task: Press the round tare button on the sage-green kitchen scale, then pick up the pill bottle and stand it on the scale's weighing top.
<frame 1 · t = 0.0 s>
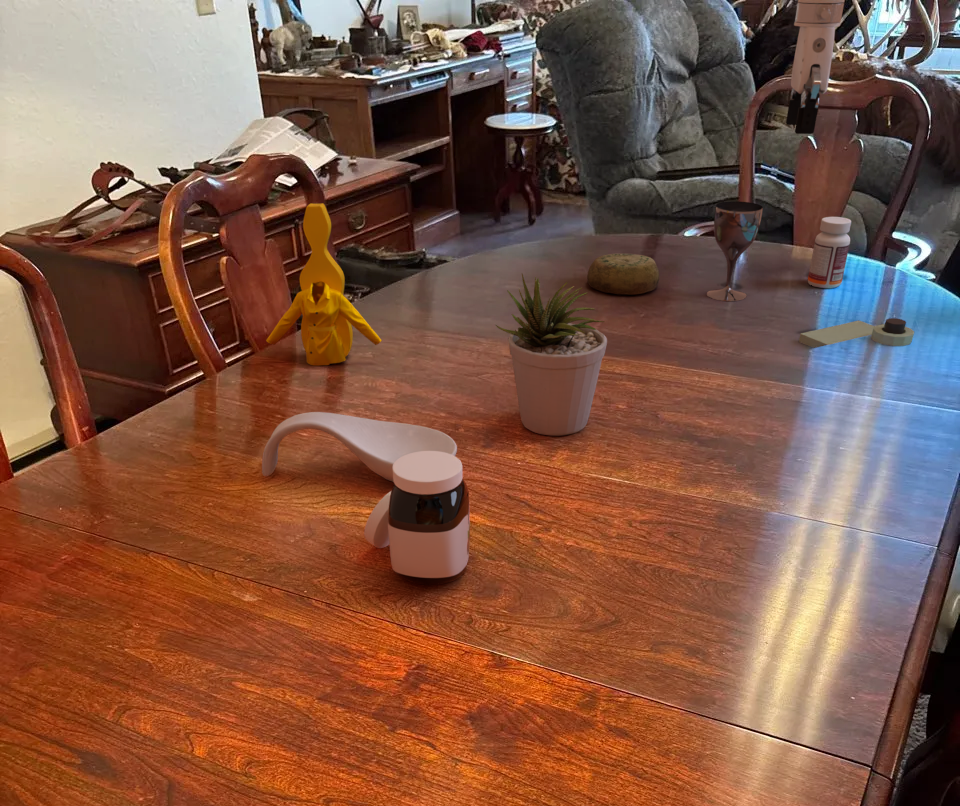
hand: (799, 128, 172), 24 cm above the table, tool pointing down, fingers open, 9 cm apart
tare button: (894, 326, 148), point 4 cm above the table, slide at 0.1 cm
pill bottle: (823, 285, 178), on the table
figure statuette: (328, 359, 149), on the table
cheese wheel: (622, 287, 178), on the table
wine glass: (726, 296, 173), on the table
spoon rest: (361, 474, 117), on the table
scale: (856, 346, 151), on the table
potted plant: (550, 424, 129), on the table
spread jar: (417, 562, 101), on the table
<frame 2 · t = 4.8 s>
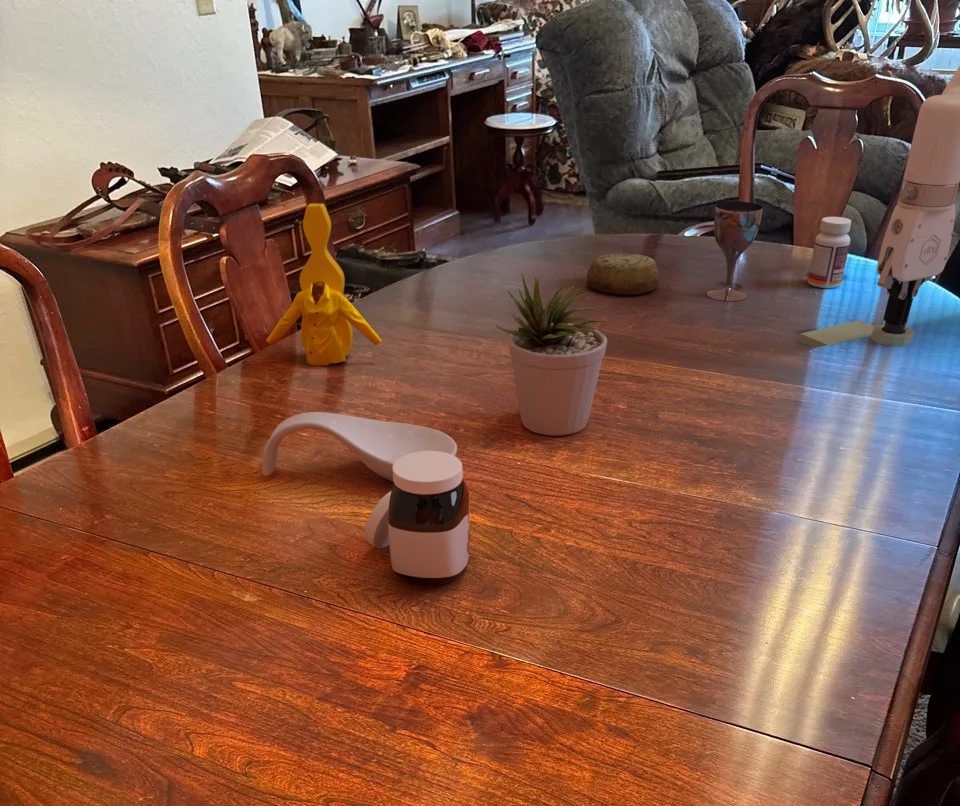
hand: (894, 322, 148), 4 cm above the table, tool pointing down, fingers closed
tare button: (894, 327, 148), point 3 cm above the table, slide at 0.0 cm, touching gripper
everything else where it was.
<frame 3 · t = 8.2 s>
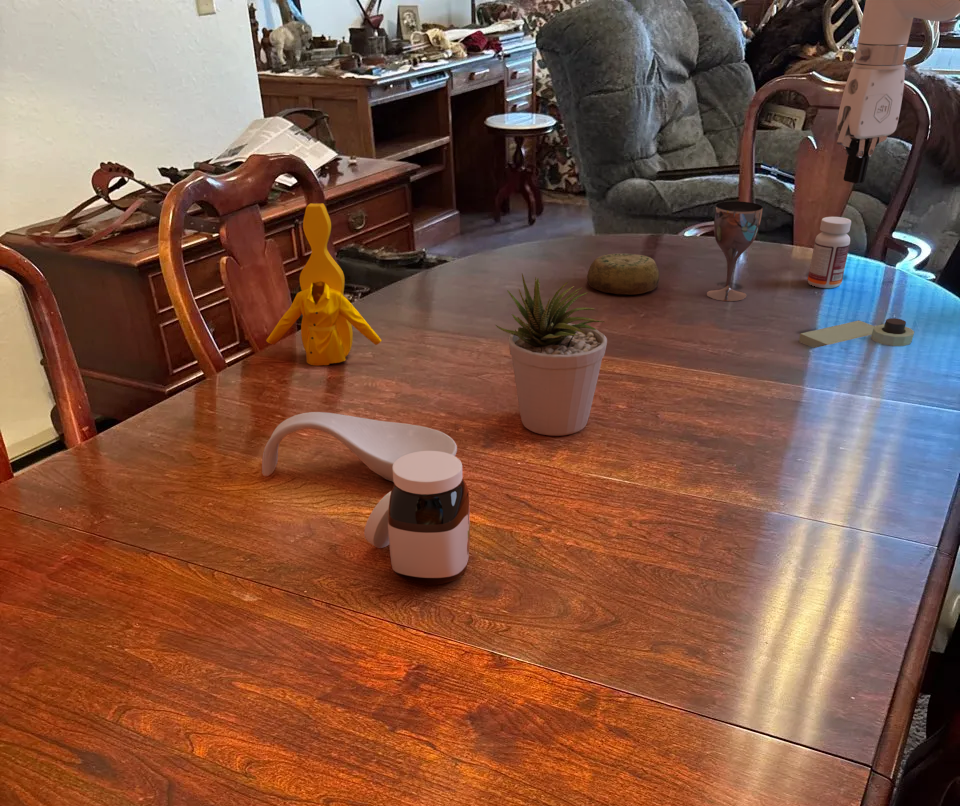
hand: (853, 181, 163), 19 cm above the table, tool pointing down, fingers closed
tare button: (894, 326, 148), point 3 cm above the table, slide at 0.1 cm
everything else where it was.
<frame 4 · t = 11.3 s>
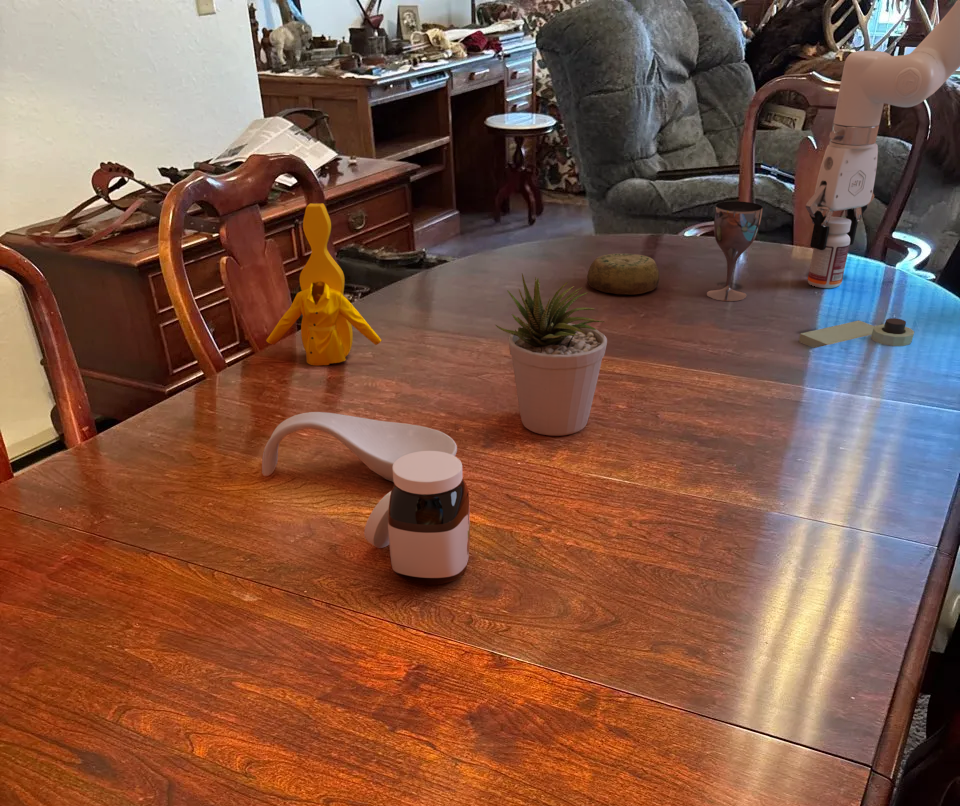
hand: (831, 244, 174), 7 cm above the table, tool pointing down, fingers closed on pill bottle, 6 cm apart
pill bottle: (823, 285, 178), on the table, touching gripper
everything else where it was.
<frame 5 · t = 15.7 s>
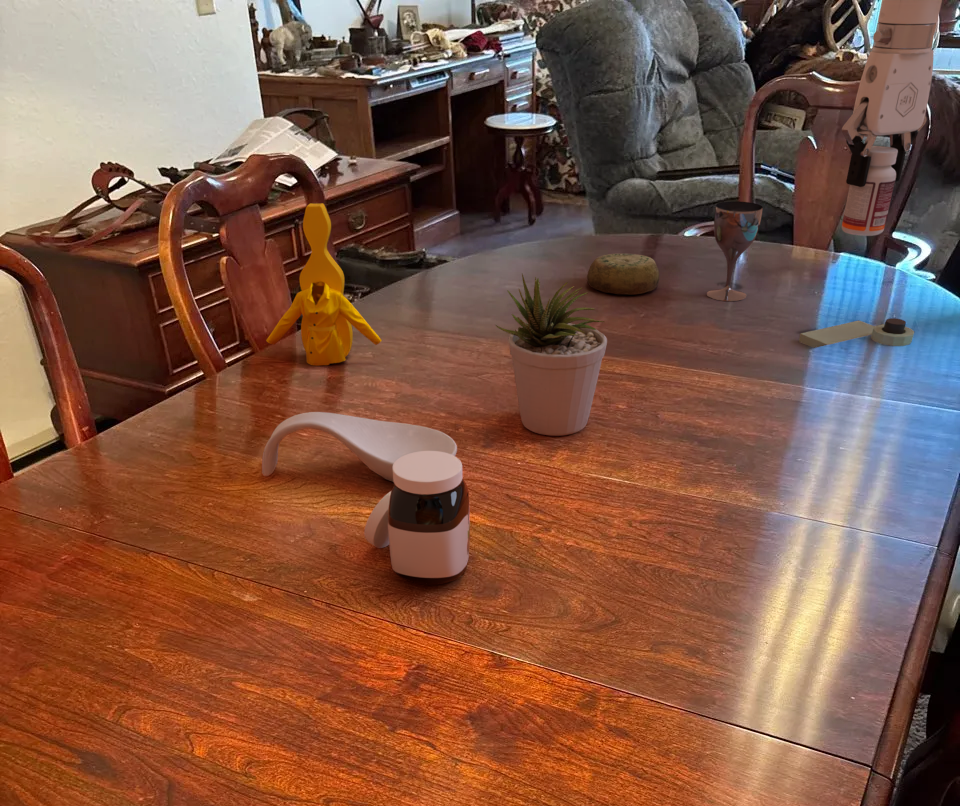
hand: (872, 181, 140), 23 cm above the table, tool pointing down, fingers closed on pill bottle, 6 cm apart
pill bottle: (861, 233, 145), point 16 cm above the table, touching gripper
everything else where it was.
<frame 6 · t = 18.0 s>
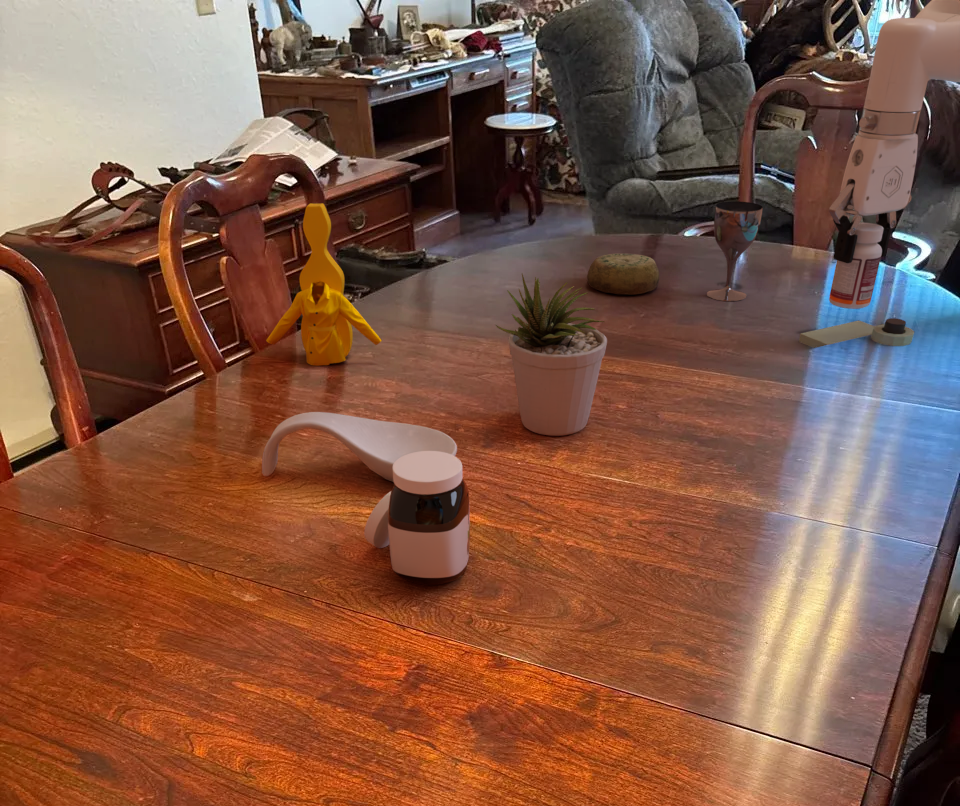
hand: (859, 256, 144), 14 cm above the table, tool pointing down, fingers closed on pill bottle, 6 cm apart
pill bottle: (848, 305, 148), point 6 cm above the table, touching gripper
everything else where it was.
when the fingers open (8 cm above the table, at t = 20.0 s): pill bottle stays where it is, resting on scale.
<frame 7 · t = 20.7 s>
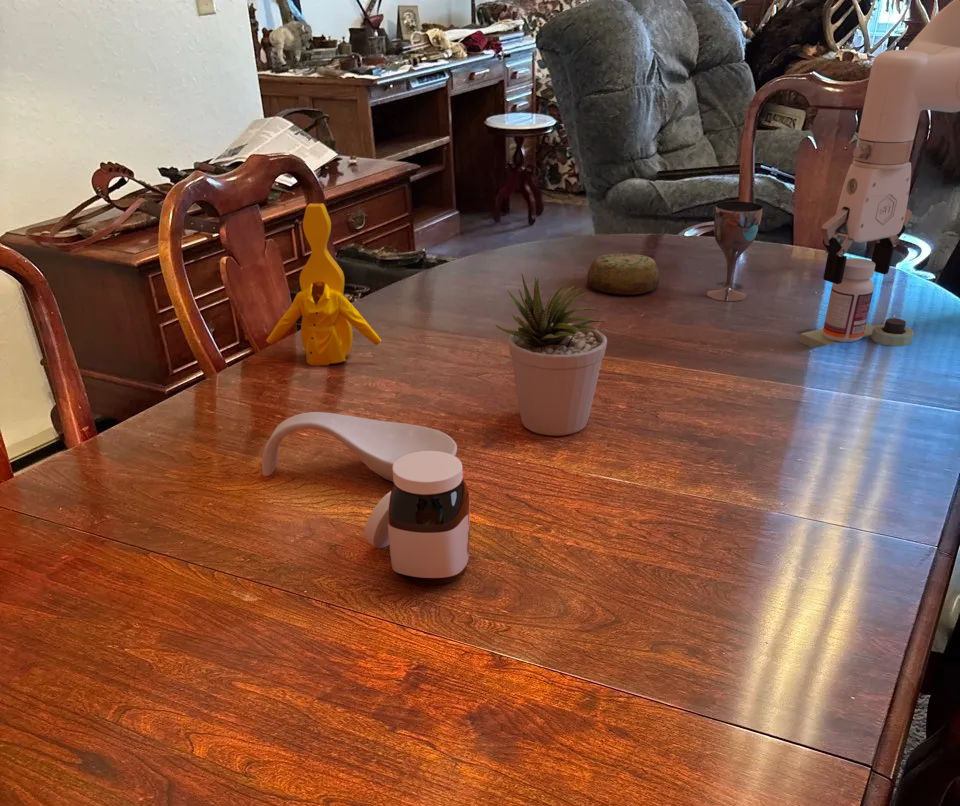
hand: (855, 276, 145), 11 cm above the table, tool pointing down, fingers open, 9 cm apart
pill bottle: (841, 337, 151), point 1 cm above the table, touching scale
everything else where it was.
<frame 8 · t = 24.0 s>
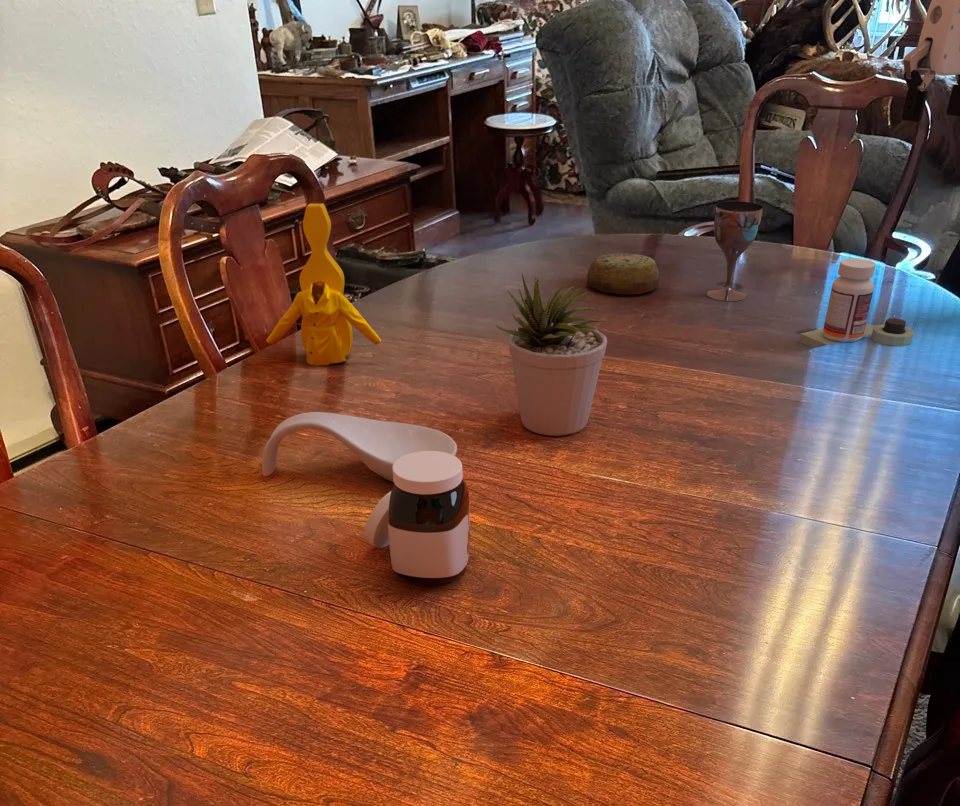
hand: (933, 118, 144), 30 cm above the table, tool pointing down, fingers open, 9 cm apart
nothing on the table moved.
at the end: tare button pushed in 0.9 cm at the most during the clip, back to where it started at the end; pill bottle inside the target area on the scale (1.7 cm from its centre), point 1.2 cm above the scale's base; pill bottle touching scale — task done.
